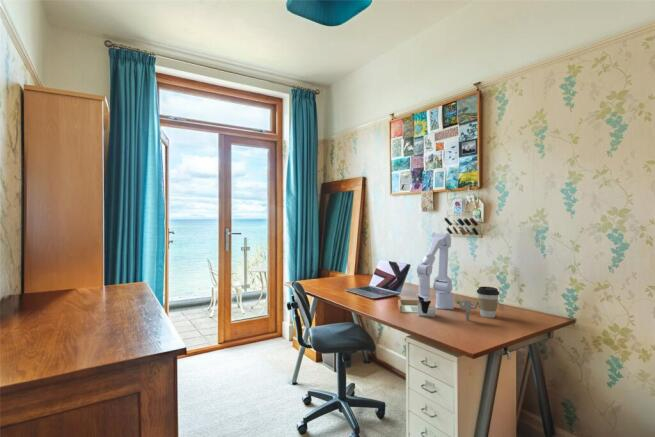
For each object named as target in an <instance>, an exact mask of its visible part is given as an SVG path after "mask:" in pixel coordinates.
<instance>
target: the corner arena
mask: <svg viewBox="0 0 655 437" xmlns="http://www.w3.org/2000/svg"><path fill="white" fill-rule="evenodd" d="M417 301H419V299H407V298H405V299H404V298H401V299H397V306H398V311H399V313H406V314H407V313H409V314H410V313H411V314H417Z"/></svg>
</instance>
